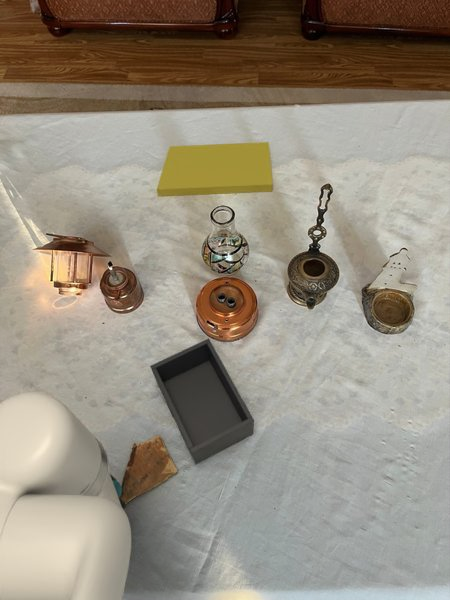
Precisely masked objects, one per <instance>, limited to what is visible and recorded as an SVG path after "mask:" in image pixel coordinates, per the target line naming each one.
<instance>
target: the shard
mask: <svg viewBox="0 0 450 600" xmlns="http://www.w3.org/2000/svg"><path fill="white" fill-rule="evenodd" d="M178 472H179V470H178V468H177V467H176V465H175V463H174V461H173V459H172V457H171V455H170V453H169V452H168V450H167V447H166V445H165V442H164V440H163V438H162V437H161V436H160V435H157V436H154V437H152V438H151V439H149V440H145V441H144V442H140V443H133V444H132V449H131V451H130V455H129V459H128V462H127V464H126V468H125V470H124V474H123V477H122V481H121V483H120V485H121V487H122V493H121V496H120V497H119V498H120V499H122V500H123V501H124V502H125V504H126V505H127V504H128V503H129V502H130V501H132V500H133V499H135V498H136V497H138V496H140V495H142V494H145V493H146V492H148V491H150V490H151V489H153V488H155V487H157V486H158V485H160V484H163V483H164V482H166V481H167V480H168V479H169V478H170V477H172V476H174V475H175V474H177V473H178Z"/></svg>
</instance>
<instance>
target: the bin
mask: <svg viewBox="0 0 450 600" xmlns="http://www.w3.org/2000/svg"><path fill="white" fill-rule="evenodd" d="M149 367H150V369H151V371H152V374H153V376H154V379H155V382H156V384H157V386H158V388H159V390H160V392H161V394H162V397H163V399H164V401H165V404H166V405H167V408H168V409H169V412H170V414H171V416H172V418H173V420H174V422H175V424H176V426H177V428H178V431H179V432H180V435H181V436H182V439H183V441H184V443H185V445H186V448H187V450H188V452H189V454H190V456H191V458H192V460H193V463H194V464H195V465H197V464H200V463H202V462H203V461H205V460H207V459H209V458H211V457H213V456H216V454H218V453H220V452H222V451H225V450H227V449H228V448H230V447H232V446H233V445H236V444H237V443H240V442H242V441H243V440H245V439H247V438H249V437H251V436H253V435H254V432H255V431H254V429H255V419H254V418H253V415H252V414H251V412H250V410H249V409H248V407H247V405H246V403H245V401H244V399H243V397H242V396H241V394H240V392H239V390H238V389H237V387H236V385H235V383H234V381H233V379H232V378H231V376H230V374H229V373H228V371H227V369H226V367H225V365H224V363H223V362H222V360H221V358H220V356H219V354H218V352H217V350H216V349H215V347H214V345H213V343H212V341H211V340H210V338H209V337H208V338H206V339H204V340H202V341H200V342H198V343H196V344H194V345H192V346H189V347H187V348H185V349H183V350H181V351H179V352H176V353H174V354H172V355H170V356H168V357H166V358H164V359H162V360H160V361H158V362H155V363H154V364H151V365H150V366H149Z"/></svg>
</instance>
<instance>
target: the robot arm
mask: <svg viewBox="0 0 450 600" xmlns="http://www.w3.org/2000/svg"><path fill="white" fill-rule="evenodd" d="M113 481H117V479H116V477H115V476H113V475H112V474H111V473H110V459H109V455H108V452H107V450H106V447H104V445H103V443H101V441H99V439H98V438H97V437H96V436H95V435H94V434H93V433H92V431H90V430H89V429H88V428H87V427H86V425H84V423H83V422H82V421H81V420H80V419H79V418H78V417H77V416H76V415H75V414H74V413H73V412H72V410H71V409H70V408H69V407H68V406H67V405H66V404H65V403H64V402H63V401H62V400H60V399H59V398H58V397H55V396H54V395H52V394H49V393H47V392H42V391H24V392H20V393H16V394H12V395H11V396H9V397H7V398H5V399H3V400H2V401H1V402H0V600H123V597H124V591H125V587H126V583H127V577H128V574H129V566H130V560H131V551H132V530H131V528H132V527H131V523H130V520H129V517H128V514H127V513H126V511H125V510H124V508H126V506H127V504H125V502H124V501H123V500H122V499H120V498H119V497H118V495H117V492H116V489H115V487H114V484H113Z"/></svg>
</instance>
